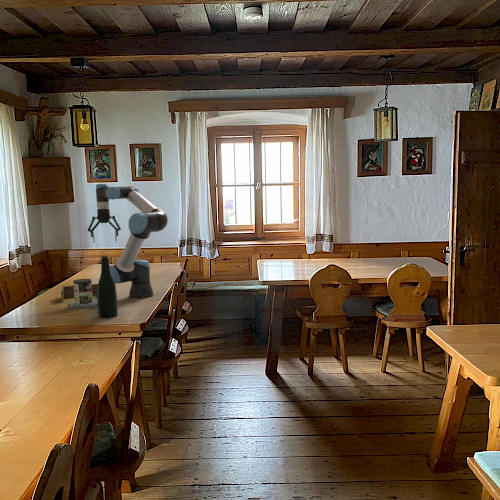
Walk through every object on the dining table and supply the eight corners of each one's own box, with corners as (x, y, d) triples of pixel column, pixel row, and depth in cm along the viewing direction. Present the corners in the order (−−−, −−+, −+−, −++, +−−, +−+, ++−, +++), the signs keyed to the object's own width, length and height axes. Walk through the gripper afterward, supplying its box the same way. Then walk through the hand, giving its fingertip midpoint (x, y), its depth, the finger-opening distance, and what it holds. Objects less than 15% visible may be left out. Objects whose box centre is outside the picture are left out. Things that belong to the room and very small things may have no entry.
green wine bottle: (101, 313, 282) (98, 254, 278) (120, 313, 282) (117, 254, 278) (95, 318, 272) (91, 257, 268) (114, 318, 272) (111, 257, 267)
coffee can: (96, 301, 306) (94, 278, 304) (87, 305, 296) (85, 282, 294) (80, 301, 308) (79, 278, 306) (71, 305, 298) (69, 281, 296)
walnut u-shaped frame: (104, 298, 318) (103, 287, 317) (61, 302, 310) (61, 291, 309) (103, 293, 332) (102, 283, 331) (62, 297, 324) (61, 286, 323)
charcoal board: (98, 306, 297) (98, 305, 297) (69, 309, 292) (69, 307, 292) (97, 301, 312) (97, 299, 312) (69, 303, 307) (69, 301, 307)
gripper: (122, 207, 328) (124, 240, 331) (82, 208, 320) (84, 242, 323) (123, 208, 321) (125, 241, 324) (82, 209, 313) (84, 243, 316)
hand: (105, 241), depth 324 cm, fingers open, 13 cm apart
